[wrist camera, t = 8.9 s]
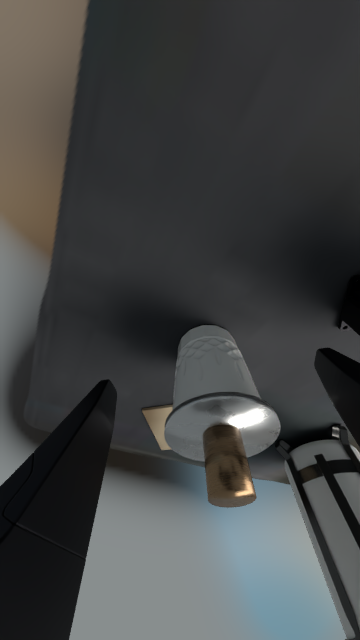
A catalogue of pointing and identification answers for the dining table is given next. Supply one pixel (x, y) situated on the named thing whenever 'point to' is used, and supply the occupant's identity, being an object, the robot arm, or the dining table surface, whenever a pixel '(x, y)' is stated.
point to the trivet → (158, 422)
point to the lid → (223, 440)
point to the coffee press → (331, 515)
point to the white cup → (210, 365)
